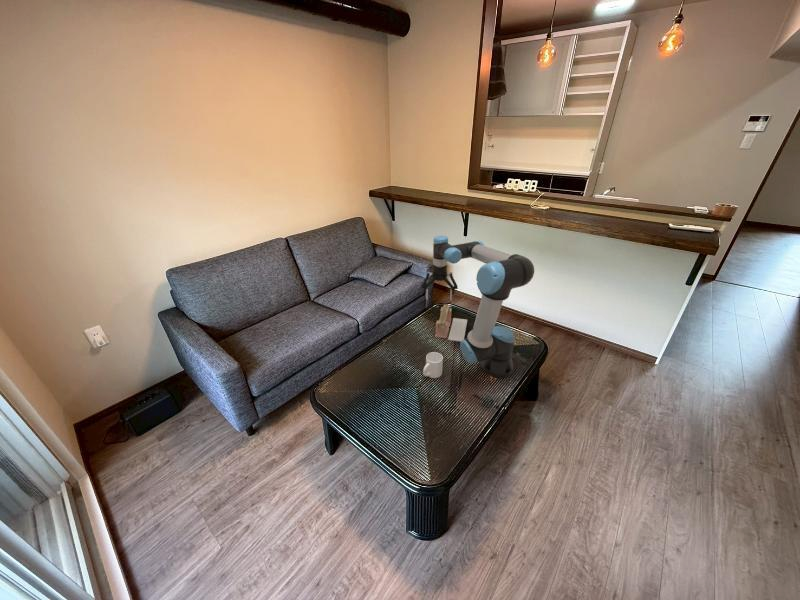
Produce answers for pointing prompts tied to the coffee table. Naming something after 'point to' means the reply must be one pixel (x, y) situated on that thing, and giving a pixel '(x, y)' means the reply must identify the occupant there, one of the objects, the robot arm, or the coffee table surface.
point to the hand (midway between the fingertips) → (438, 298)
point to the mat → (457, 330)
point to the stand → (444, 332)
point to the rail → (443, 316)
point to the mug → (433, 365)
